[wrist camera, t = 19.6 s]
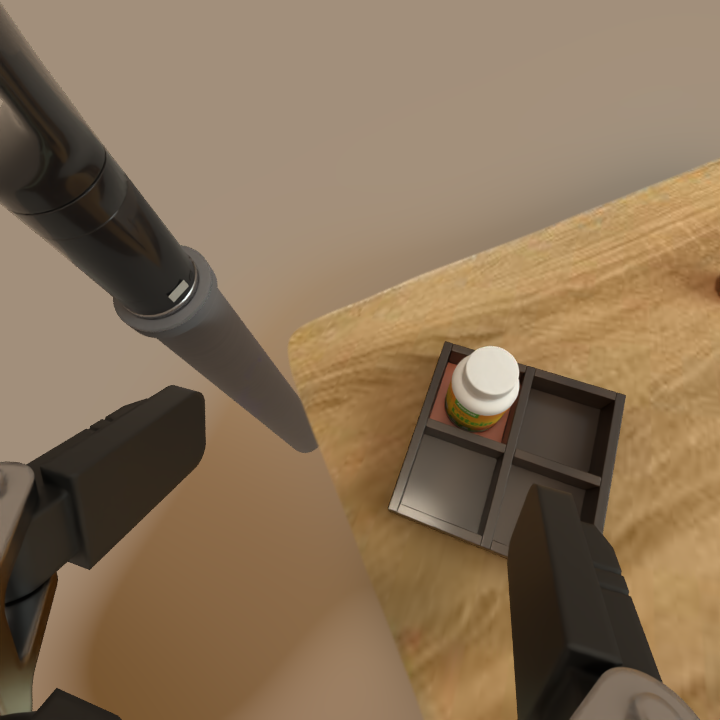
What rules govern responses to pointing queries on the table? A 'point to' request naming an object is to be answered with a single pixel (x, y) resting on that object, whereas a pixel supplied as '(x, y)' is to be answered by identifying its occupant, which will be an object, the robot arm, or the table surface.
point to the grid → (508, 456)
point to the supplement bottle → (482, 389)
